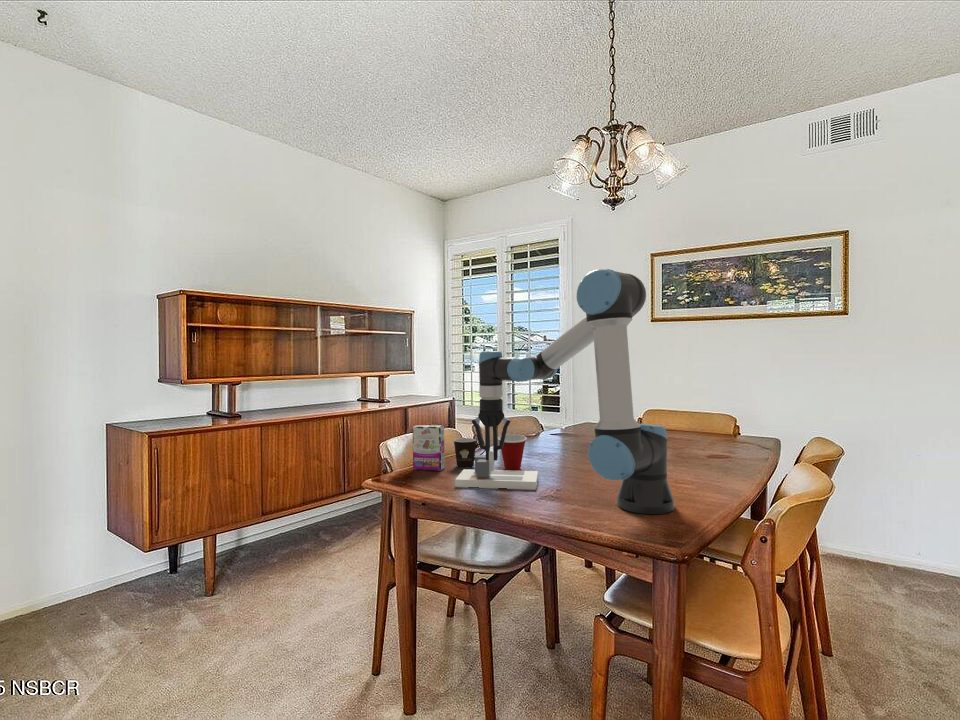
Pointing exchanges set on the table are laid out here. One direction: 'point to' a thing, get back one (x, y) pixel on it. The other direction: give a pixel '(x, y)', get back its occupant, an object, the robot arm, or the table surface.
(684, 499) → the table surface
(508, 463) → the plastic cup
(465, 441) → the coffee mug
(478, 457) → the switch tab far
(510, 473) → the switch panel
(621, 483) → the robot arm
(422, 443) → the candy bar box
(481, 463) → the switch tab near
